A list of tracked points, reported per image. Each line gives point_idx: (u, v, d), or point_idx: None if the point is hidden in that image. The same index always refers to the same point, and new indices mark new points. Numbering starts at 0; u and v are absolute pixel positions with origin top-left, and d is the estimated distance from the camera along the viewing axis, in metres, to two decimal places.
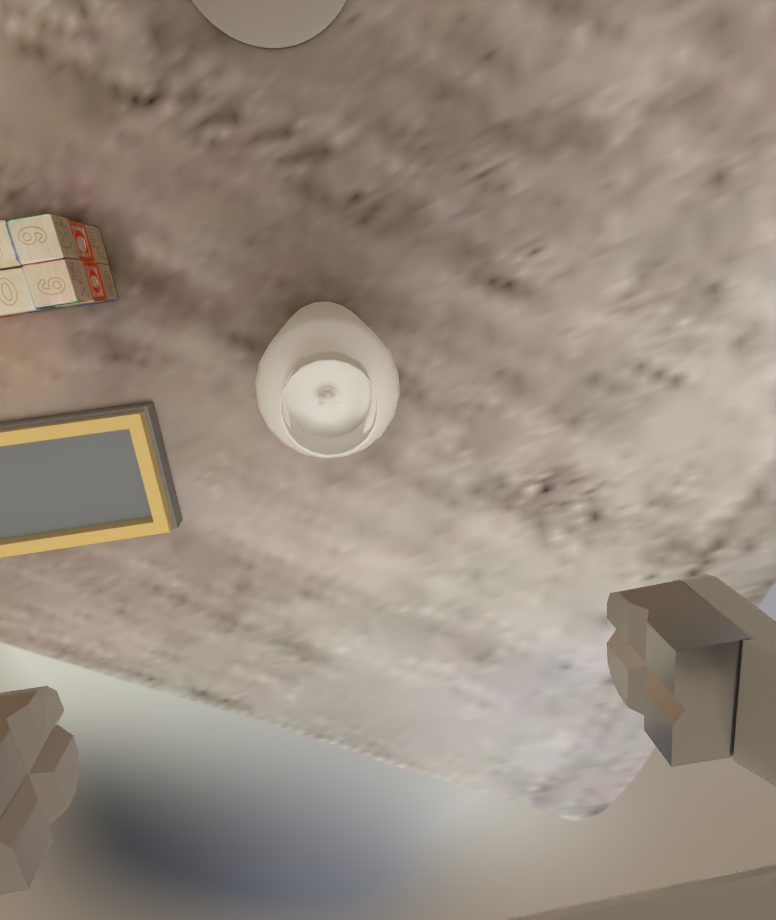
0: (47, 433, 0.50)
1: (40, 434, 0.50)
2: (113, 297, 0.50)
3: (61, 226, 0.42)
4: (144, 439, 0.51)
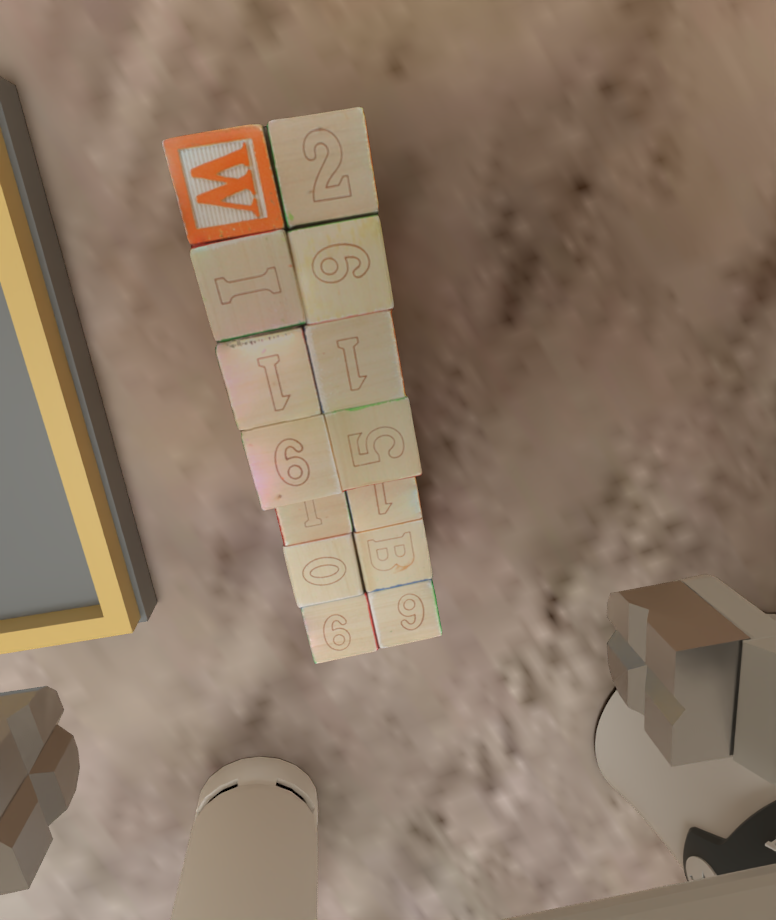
0: (78, 496, 0.29)
1: (75, 485, 0.29)
2: None
3: None
4: (86, 637, 0.31)
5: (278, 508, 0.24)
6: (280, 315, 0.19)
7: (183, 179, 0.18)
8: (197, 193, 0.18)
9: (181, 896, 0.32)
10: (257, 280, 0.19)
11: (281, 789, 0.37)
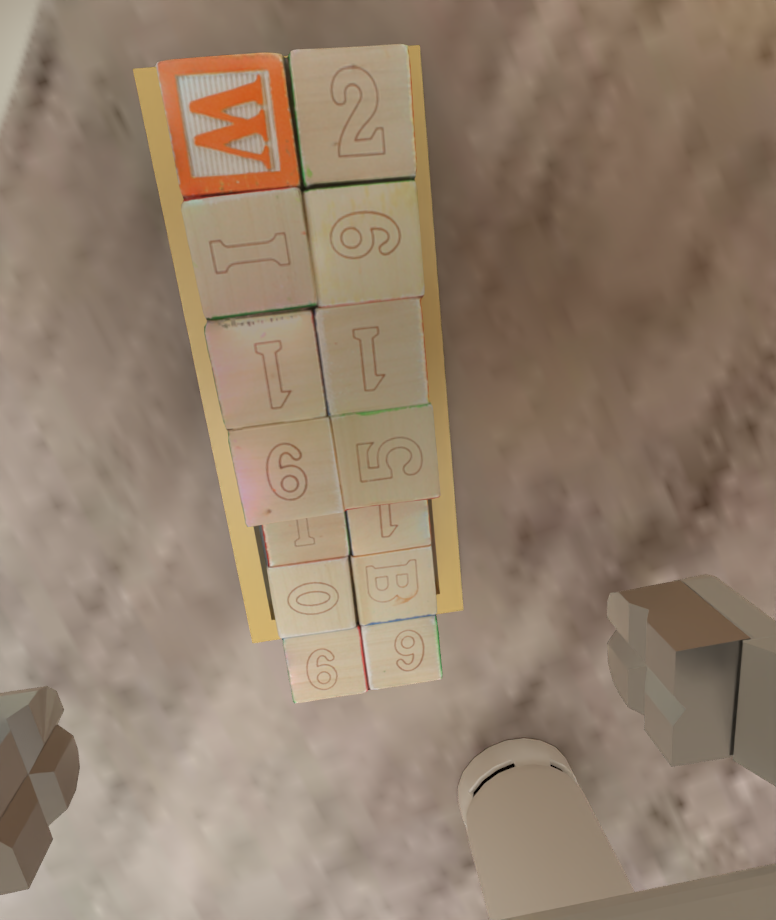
0: (440, 473, 0.29)
1: (439, 462, 0.29)
2: None
3: None
4: None
5: None
6: (287, 293, 0.16)
7: (179, 113, 0.14)
8: (195, 133, 0.15)
9: (505, 871, 0.32)
10: (262, 247, 0.15)
11: (557, 769, 0.37)
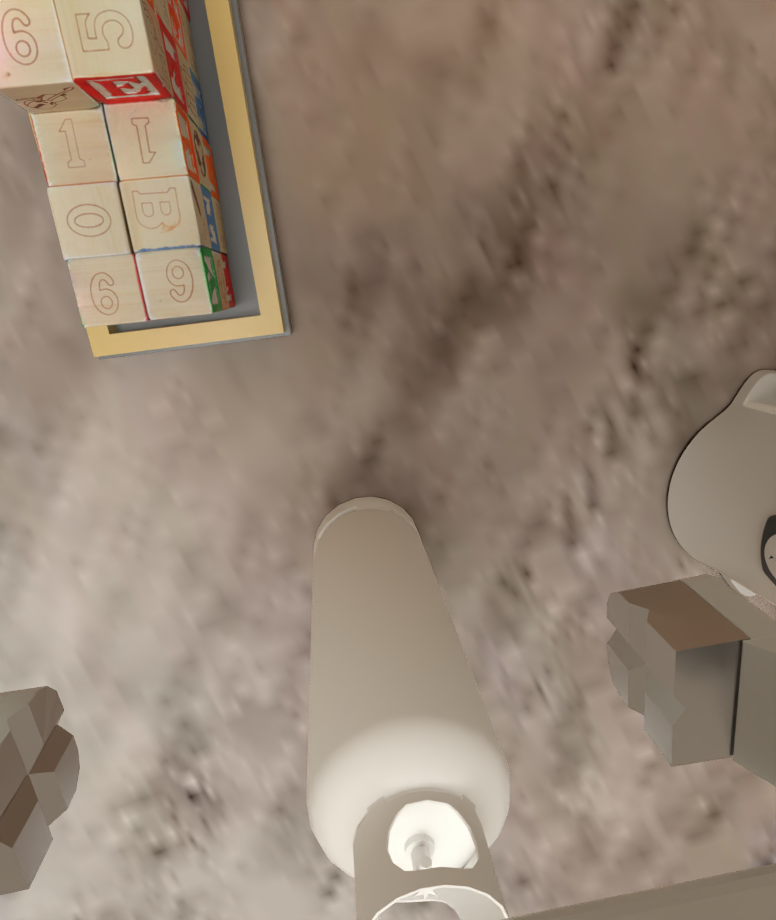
0: (248, 192, 0.33)
1: (246, 181, 0.33)
2: None
3: None
4: (244, 335, 0.36)
5: (40, 142, 0.25)
6: None
7: None
8: None
9: (324, 567, 0.36)
10: None
11: (395, 514, 0.41)
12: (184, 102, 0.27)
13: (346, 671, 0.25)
